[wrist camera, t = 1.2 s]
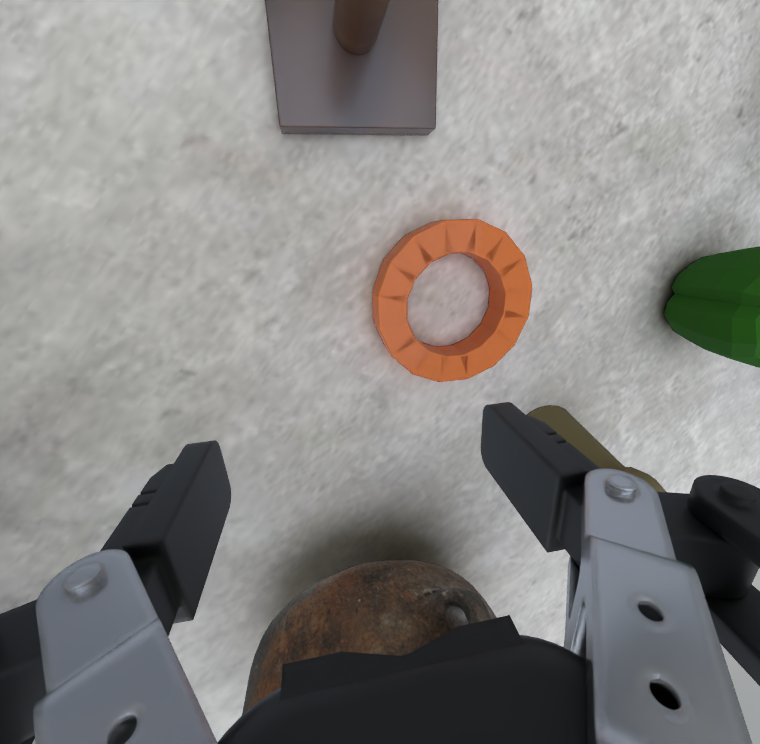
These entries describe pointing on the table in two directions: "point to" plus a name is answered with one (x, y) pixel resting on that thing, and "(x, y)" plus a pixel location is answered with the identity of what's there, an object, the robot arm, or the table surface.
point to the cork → (586, 442)
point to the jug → (365, 617)
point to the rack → (354, 65)
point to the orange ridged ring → (502, 314)
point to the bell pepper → (720, 304)
